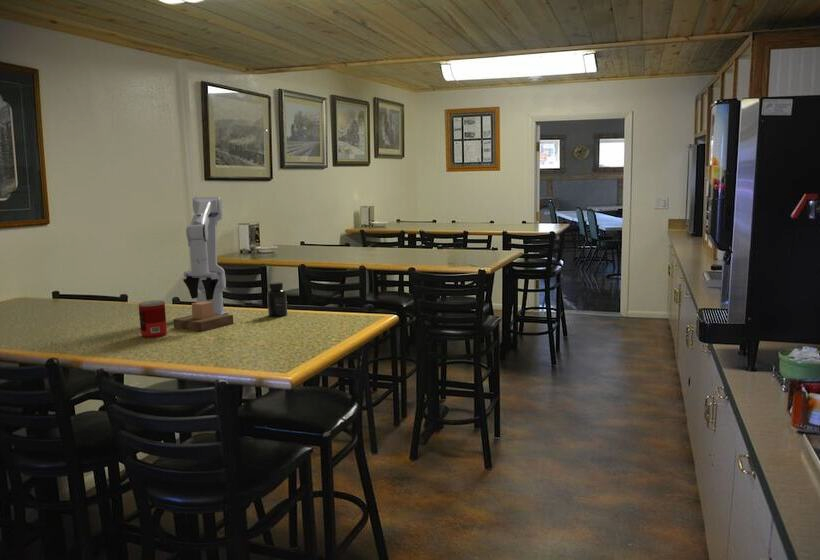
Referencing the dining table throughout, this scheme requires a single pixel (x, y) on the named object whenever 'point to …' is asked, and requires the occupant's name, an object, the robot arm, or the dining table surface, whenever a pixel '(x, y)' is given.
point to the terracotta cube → (202, 310)
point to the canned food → (152, 319)
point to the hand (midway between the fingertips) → (202, 298)
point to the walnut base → (203, 322)
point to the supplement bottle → (276, 300)
